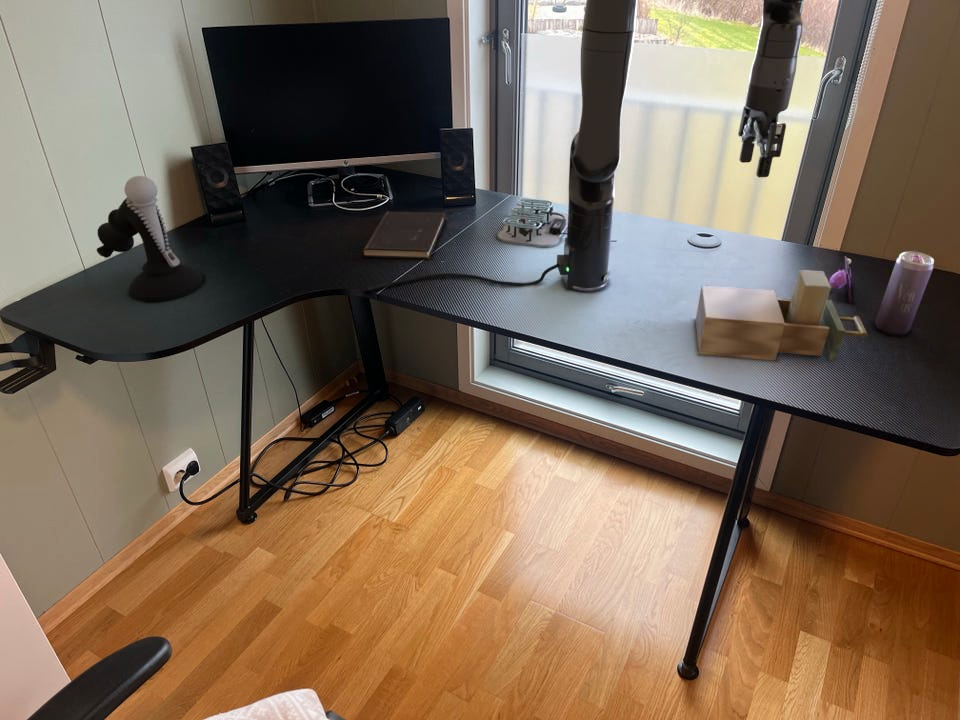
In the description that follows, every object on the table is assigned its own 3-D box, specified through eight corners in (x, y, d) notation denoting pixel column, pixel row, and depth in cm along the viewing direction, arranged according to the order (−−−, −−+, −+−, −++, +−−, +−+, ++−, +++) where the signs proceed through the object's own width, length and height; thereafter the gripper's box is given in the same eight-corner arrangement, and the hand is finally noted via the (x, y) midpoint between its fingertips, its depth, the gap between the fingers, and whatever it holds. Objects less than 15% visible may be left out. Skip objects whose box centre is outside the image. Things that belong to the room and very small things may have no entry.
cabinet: (766, 325, 137) (774, 290, 132) (775, 360, 127) (785, 323, 122) (695, 320, 139) (701, 285, 135) (699, 354, 129) (706, 317, 125)
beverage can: (908, 324, 136) (934, 254, 128) (909, 339, 132) (936, 267, 123) (874, 318, 138) (898, 248, 130) (874, 332, 134) (898, 261, 125)
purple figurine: (852, 273, 140) (850, 255, 147) (823, 277, 142) (823, 259, 149) (855, 302, 143) (853, 283, 150) (827, 306, 145) (826, 287, 152)
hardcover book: (445, 221, 183) (444, 212, 182) (429, 259, 165) (428, 250, 163) (385, 219, 185) (385, 211, 184) (363, 257, 166) (362, 248, 165)
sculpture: (172, 306, 148) (137, 193, 134) (84, 290, 155) (43, 181, 141) (216, 274, 160) (188, 167, 146) (133, 261, 167) (99, 158, 153)
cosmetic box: (783, 326, 133) (798, 268, 126) (807, 327, 132) (823, 269, 125) (789, 344, 128) (805, 284, 121) (814, 346, 127) (831, 286, 120)
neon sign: (614, 238, 162) (493, 225, 170) (612, 255, 164) (493, 241, 172) (627, 205, 178) (517, 194, 186) (626, 221, 181) (517, 209, 189)
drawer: (849, 330, 133) (859, 301, 130) (864, 362, 124) (875, 333, 121) (755, 322, 136) (762, 294, 133) (763, 354, 127) (770, 324, 124)
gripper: (736, 73, 132) (721, 158, 141) (766, 91, 120) (748, 182, 129) (775, 72, 132) (757, 156, 141) (809, 89, 120) (788, 181, 129)
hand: (753, 169), depth 135 cm, fingers open, 8 cm apart
